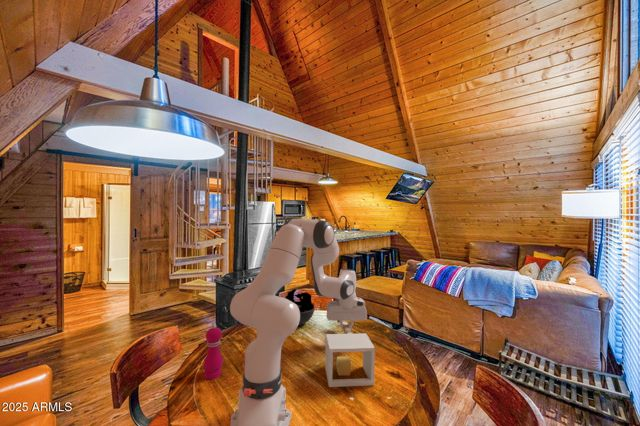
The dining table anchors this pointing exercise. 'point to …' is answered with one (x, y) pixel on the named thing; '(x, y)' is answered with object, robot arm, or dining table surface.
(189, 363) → the dining table surface
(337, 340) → the cubby
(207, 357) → the pepper mill
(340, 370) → the ochre cube
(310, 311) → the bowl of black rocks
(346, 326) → the pale grey hook
